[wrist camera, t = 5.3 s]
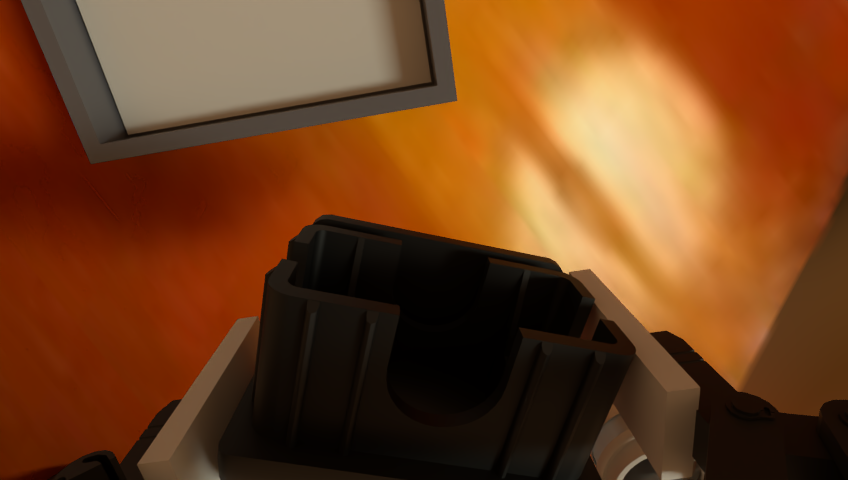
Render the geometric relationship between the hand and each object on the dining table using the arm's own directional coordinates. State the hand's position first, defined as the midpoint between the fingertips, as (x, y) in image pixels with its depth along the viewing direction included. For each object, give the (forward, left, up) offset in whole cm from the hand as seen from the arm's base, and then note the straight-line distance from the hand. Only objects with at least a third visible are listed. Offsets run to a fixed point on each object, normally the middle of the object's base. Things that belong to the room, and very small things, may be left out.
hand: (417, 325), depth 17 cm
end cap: (0, 0, -1) cm, 1 cm away
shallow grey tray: (-7, +14, -16) cm, 23 cm away
